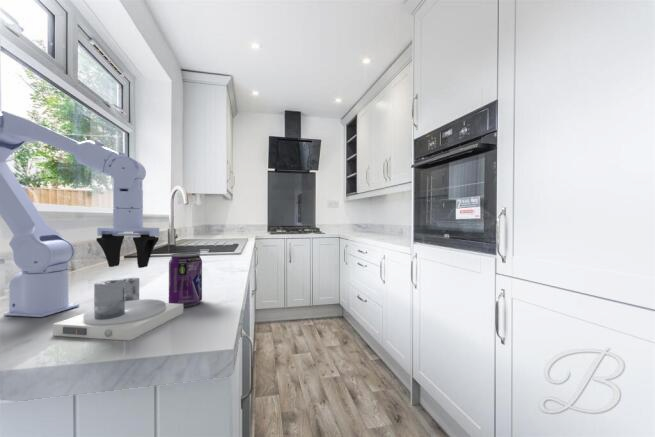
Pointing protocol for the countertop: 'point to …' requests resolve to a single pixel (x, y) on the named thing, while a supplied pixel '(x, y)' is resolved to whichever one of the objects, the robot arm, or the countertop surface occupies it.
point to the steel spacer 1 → (109, 299)
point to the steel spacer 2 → (131, 289)
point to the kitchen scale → (120, 321)
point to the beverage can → (185, 279)
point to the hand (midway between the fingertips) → (128, 266)
